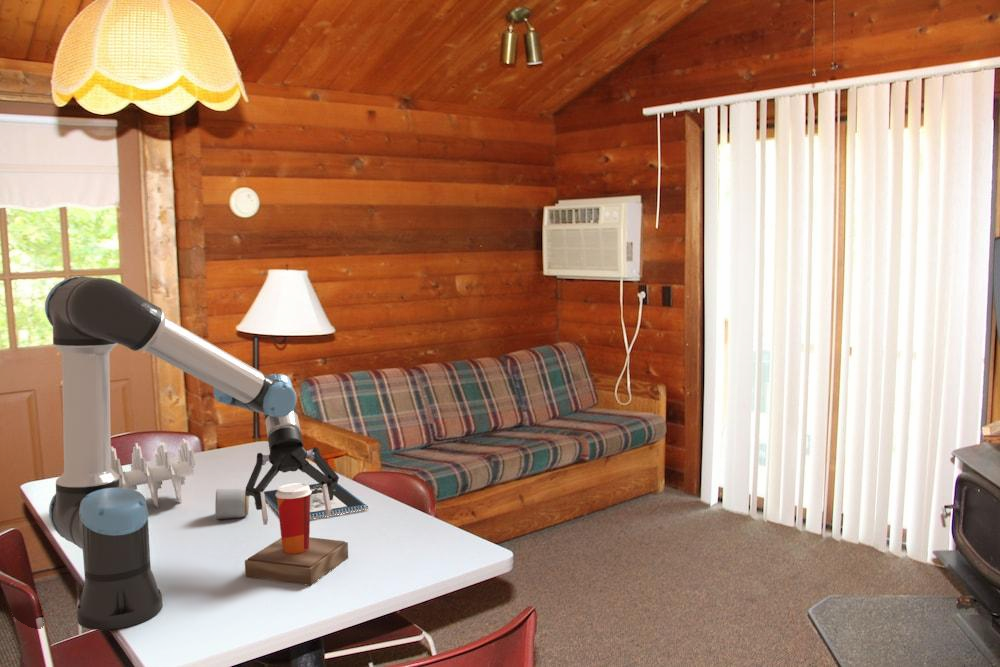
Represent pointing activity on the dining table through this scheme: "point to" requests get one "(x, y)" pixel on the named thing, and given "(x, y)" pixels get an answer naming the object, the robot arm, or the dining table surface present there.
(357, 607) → the dining table surface
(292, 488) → the paper cup
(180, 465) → the white spiked piece
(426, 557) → the dining table surface
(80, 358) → the robot arm
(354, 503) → the sketchbook
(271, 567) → the walnut plinth
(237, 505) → the grey cylinder
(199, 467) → the dining table surface
